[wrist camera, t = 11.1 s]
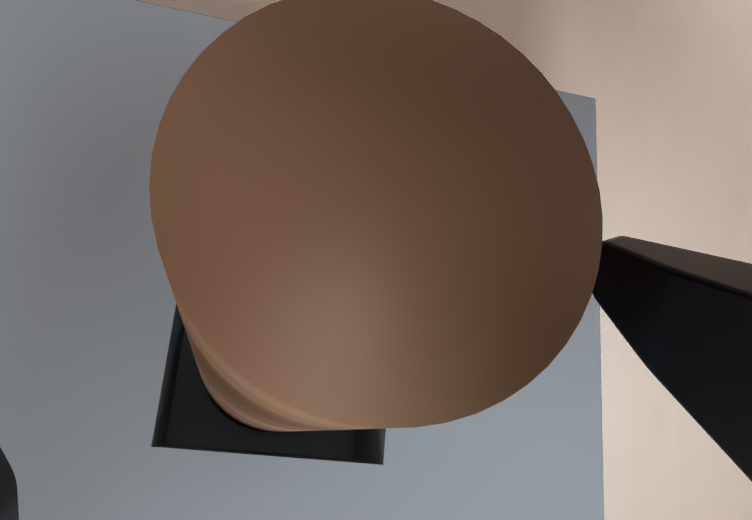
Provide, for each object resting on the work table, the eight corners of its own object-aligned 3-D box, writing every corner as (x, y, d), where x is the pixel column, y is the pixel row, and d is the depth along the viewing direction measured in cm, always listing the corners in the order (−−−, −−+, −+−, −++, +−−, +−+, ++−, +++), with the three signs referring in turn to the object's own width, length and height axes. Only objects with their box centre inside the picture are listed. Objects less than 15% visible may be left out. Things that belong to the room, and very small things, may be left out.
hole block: (517, 675, 18) (608, 749, 14) (-118, 669, 15) (-255, 764, 10) (524, 161, 22) (595, 98, 18) (41, 71, 19) (-10, -31, 15)
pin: (372, 365, 18) (680, 227, 6) (263, 463, 17) (378, 543, 5) (283, 261, 18) (407, -78, 6) (168, 349, 17) (39, 137, 5)
